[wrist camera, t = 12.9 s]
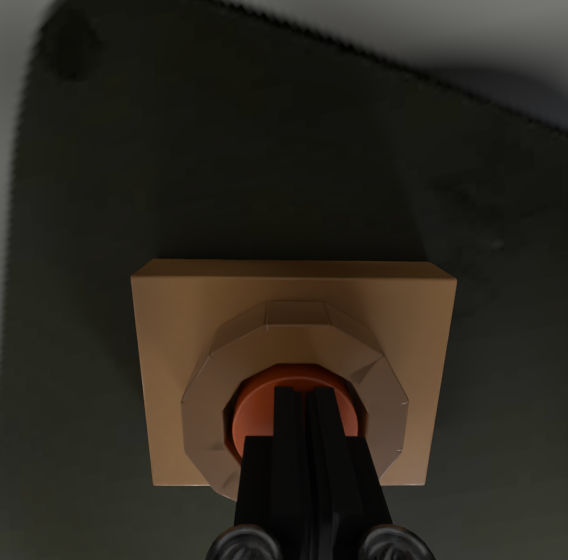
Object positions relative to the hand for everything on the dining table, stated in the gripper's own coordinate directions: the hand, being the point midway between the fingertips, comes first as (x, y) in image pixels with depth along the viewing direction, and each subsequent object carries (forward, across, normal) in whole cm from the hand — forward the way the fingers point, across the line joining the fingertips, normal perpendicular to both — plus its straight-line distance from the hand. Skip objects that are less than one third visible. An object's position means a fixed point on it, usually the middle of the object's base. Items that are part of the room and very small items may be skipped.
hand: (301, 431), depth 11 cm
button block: (+4, 0, 0) cm, 4 cm away
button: (+2, 0, 0) cm, 2 cm away
